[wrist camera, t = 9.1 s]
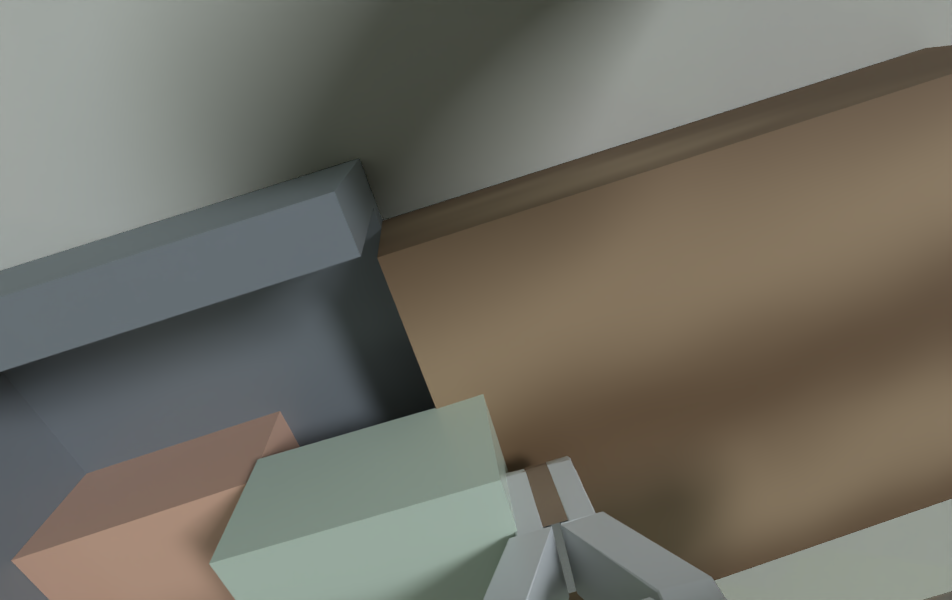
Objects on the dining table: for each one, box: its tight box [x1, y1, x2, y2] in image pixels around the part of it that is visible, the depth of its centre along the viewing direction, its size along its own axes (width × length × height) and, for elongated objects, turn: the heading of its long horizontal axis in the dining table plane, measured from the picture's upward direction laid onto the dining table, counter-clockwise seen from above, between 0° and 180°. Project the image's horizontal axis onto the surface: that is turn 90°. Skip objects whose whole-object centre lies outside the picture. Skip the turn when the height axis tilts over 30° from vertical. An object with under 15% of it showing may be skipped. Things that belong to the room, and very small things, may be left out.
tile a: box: [209, 394, 517, 600], centre depth 10 cm, size 5×5×2 cm
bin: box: [0, 159, 436, 600], centre depth 12 cm, size 15×10×4 cm, turn 16°
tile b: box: [11, 411, 300, 600], centre depth 12 cm, size 5×5×2 cm
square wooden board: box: [377, 45, 952, 600], centre depth 13 cm, size 12×14×3 cm
